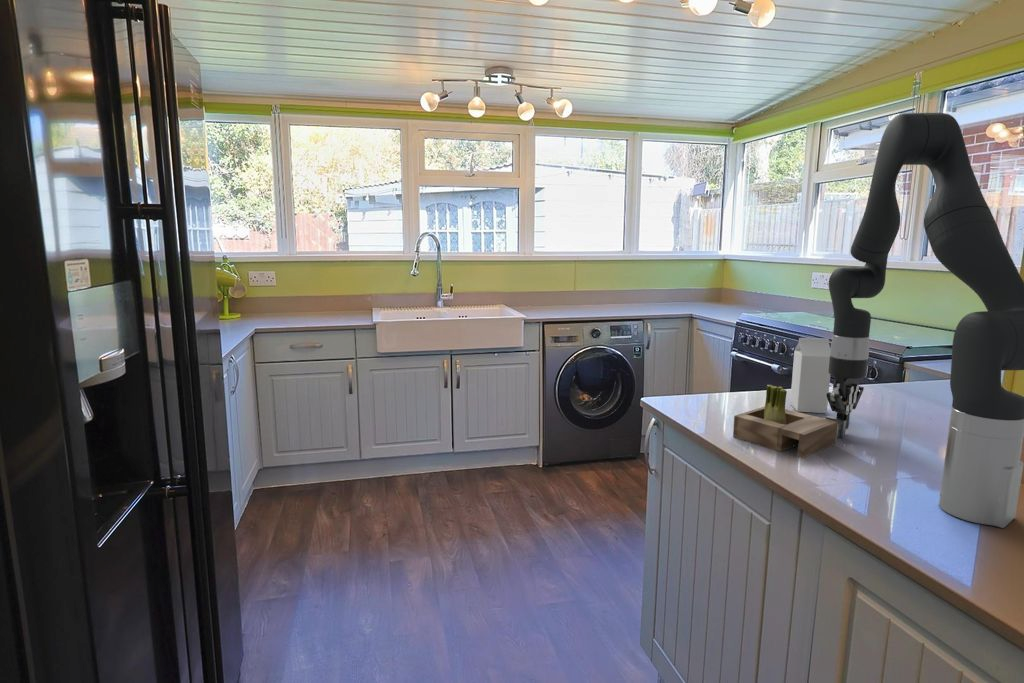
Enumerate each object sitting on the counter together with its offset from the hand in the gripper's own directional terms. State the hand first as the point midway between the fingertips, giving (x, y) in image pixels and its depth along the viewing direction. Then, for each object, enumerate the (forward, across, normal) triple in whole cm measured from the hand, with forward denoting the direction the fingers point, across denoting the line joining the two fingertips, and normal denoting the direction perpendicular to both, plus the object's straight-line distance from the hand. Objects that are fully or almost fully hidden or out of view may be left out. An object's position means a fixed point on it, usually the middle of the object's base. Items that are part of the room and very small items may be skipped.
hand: (841, 428), depth 132 cm
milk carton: (+1, +13, +14) cm, 19 cm away
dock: (+1, -15, +5) cm, 16 cm away
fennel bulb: (+1, -15, +8) cm, 17 cm away
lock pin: (+1, -10, 0) cm, 10 cm away
